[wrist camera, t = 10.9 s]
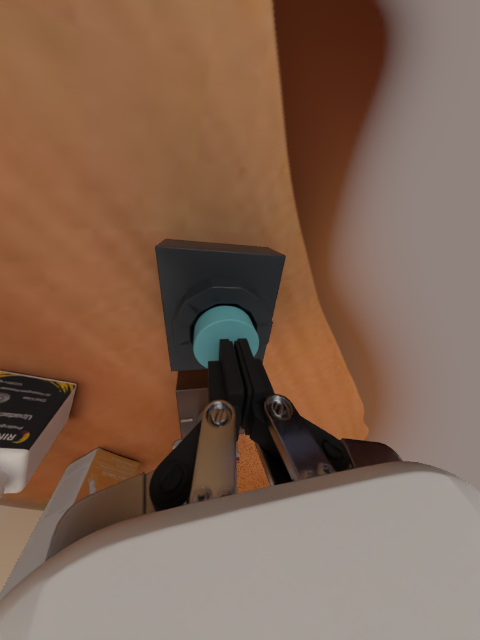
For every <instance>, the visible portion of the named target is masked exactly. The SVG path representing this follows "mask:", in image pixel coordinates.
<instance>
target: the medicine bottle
mask: <svg viewBox="0 0 480 640" xmlns="http://www.w3.org/2000/svg"><path fill="white" fill-rule="evenodd" d="M76 387H77V385H76V384H75V383H71V382H65V381H59V380H53V379H47V378H42V377H36V376H30V375H24V374H18V373H13V372H7V371H1V370H0V498H1V496H2V495H3V493H18V492H20V491H22V490H23V489H24V488H25V486H26V485H27V483H28V482H29V480H30V478H31V477H32V475H33V474H34V472H35V471H36V469H37V468H38V466H39V465H40V463H41V461H42V460H43V458H44V457H45V455H46V454H47V452H48V451H49V449H50V448H51V446H52V444H53V443H54V441H55V440H56V438H57V437H58V435H59V434H60V432H61V431H62V429H63V427H64V426H65V424H66V423H67V421H68V418H69V414H70V410H71V407H72V403H73V399H74V395H75V391H76Z"/></svg>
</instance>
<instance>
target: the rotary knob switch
mask: <svg viewBox="0 0 480 640" xmlns="http://www.w3.org/2000/svg"><path fill="white" fill-rule="evenodd" d="M176 397H177V405H178V413H179V422H180V430H181V439H182V440H183V439H184V438H185V437H186V436H187V435H188V434H189V433H190V431H191V430H192V429H193V428H194V427H195V426H196V425H197V424H198V417H199V415H200V413H201V412H202V411H204V409H205V407H206V406H207V405H208V404H209V399H208V369H203V370H188V371H179V372H178V379H177V386H176ZM244 432H245V430H244V429H241V427H240V430H239V434H244Z"/></svg>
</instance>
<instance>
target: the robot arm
mask: <svg viewBox="0 0 480 640" xmlns="http://www.w3.org/2000/svg"><path fill="white" fill-rule="evenodd" d="M208 399H209V404H208V405H207V406H206V407H205V409H204V412H203V416H202V420H201V421H200V422H199V423H198V424H197V425H196V426H195V427H194V428H193V429H192V430H191V431H190V433H189V434H188V435H187V436H186V437H185V438H184V439H183V440H182V441H181V442H180V443H179V444H178V445H177V446H176V447H175V449H174V450H173V451H172V452H171V453H170V454H169V455H168V456H167V457H166V458H165V459H164V460H163V461H162V462H161V464H160V465H159V466H158V467H157V469H155V470H153V471H150V472H148V473H144V472H142V473H140V474H138V475H135V476H133V477H130V478H128V479H126V480H123V481H121V482H119V483H116V484H114V485H111V486H109V487H107V488H104V489H102V490H100V491H97V492H95V493H92V494H90V495H88V496H85V497H83V498H82V499H80V500H78V501H77V502H75V503H74V504H73V505H72V506H71V507H70V508H69V509H68V510H67V511H66V512H65V513H64V514H63V516H62V517H61V519H60V520H59V521H58V523H57V525H56V528H55V530H54V532H53V535H52V538H51V542H50V545H49V549H48V552H47V556H46V559H45V562H44V563H42V564H41V565H40V566H38V567H37V568H36V569H35V570H33V571H32V572H31V573H30V574H28V575H27V576H26V577H25V578H24V579H22V580H21V581H20V582H19V583H18V584H17V585H16V586H15V587H14V588H12V589H11V590H10V591H9V592H8V593H7V594H6V595H5V596H4V597H3V598H2V599H1V601H0V640H480V492H479V491H478V490H477V489H476V488H474V487H473V486H472V485H470V484H469V483H467V482H466V481H464V480H463V479H461V478H460V477H458V476H456V475H454V474H452V473H450V472H447V471H445V470H442V469H440V468H437V467H434V466H430V465H427V464H422V463H418V462H410V461H402V459H401V458H400V457H399V455H398V454H397V453H396V452H395V451H394V450H393V449H391V448H390V447H389V446H387V445H385V444H382V443H378V442H370V441H361V440H353V439H344V438H342V439H341V440H338V439H337V438H335V437H334V436H332V435H331V434H329V433H328V432H326V431H324V430H323V429H321V428H319V427H318V426H316V425H314V424H313V423H311V422H309V421H308V420H306V419H304V418H303V417H301V416H300V415H299V413H298V412H297V410H296V409H295V407H294V406H293V404H292V403H291V401H290V400H289V399H287V398H286V397H285V396H282V395H279V394H275V393H274V391H273V388H272V386H271V383H270V381H269V379H268V376H267V374H266V371H265V369H264V366H263V364H262V362H261V360H260V359H259V358H256V359H254V357H253V354H252V351H251V349H250V346H249V343H248V340H247V338H238V339H237V341H234V346H233V342H232V341H229V339H220V342H219V360H218V361H208ZM240 427H241V429H244V430H245V435H250V439H252V440H253V441H254V442H255V446H256V449H257V452H258V454H259V457H260V460H261V462H262V465H263V468H264V470H265V473H266V476H267V478H268V481H269V484H270V487H265V488H261V489H256V490H251V491H247V492H242V493H238V494H237V470H236V442H237V441H238V436H239V430H240Z"/></svg>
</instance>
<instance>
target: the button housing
mask: <svg viewBox="0 0 480 640" xmlns="http://www.w3.org/2000/svg"><path fill="white" fill-rule="evenodd" d="M155 249H156V257H157V265H158V273H159V281H160V288H161V296H162V304H163V312H164V320H165V327H166V335H167V343H168V351H169V359H170V366H171V371H184V370H199V369H207V368H206V367H204V366H203V365H201V364H200V363H199V362H198V360H197V359H196V357H195V355H194V351H193V343H194V328H195V324H196V322H197V320H198V319H199V317H200V316H201V315H202V314H203V313H205V312H206V311H208V310H209V309H211V308H214V307H217V306H225V305H226V306H234V307H237V308H239V309H241V310H243V311H244V312H245V313H246V314H247V315H248V316H249V318H250V320H251V322H252V324H253V326H254V328H255V330H256V332H257V335H258V338H259V347H258V350H257V353H256V354H255V356H254V359H256V358H259V359H260V360H261V362H262V363H263V358H264V354H265V349H266V345H267V344H268V342H269V337H270V333H271V328H272V324H273V322H272V317H273V312H274V308H275V303H276V299H277V294H278V289H279V285H280V280H281V276H282V271H283V266H284V262H285V257H286V256H285V255H283V254H281V253H279V252H277V251H274V250H272V249H270V248H268V247H257V246H245V245H233V244H221V243H209V242H197V241H185V240H173V239H165V240H164V241H162V242H161V243H159V244H158V245H156V246H155Z"/></svg>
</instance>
